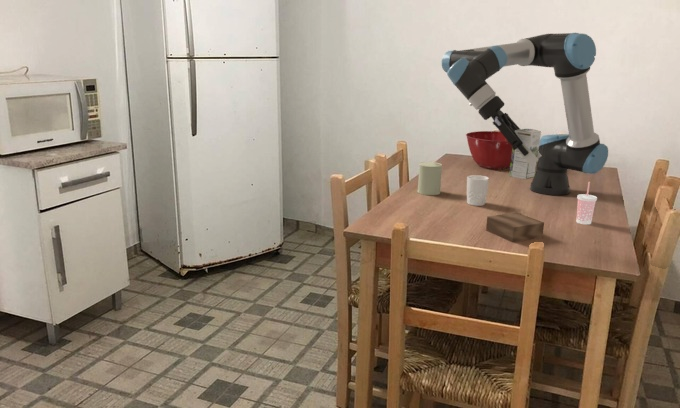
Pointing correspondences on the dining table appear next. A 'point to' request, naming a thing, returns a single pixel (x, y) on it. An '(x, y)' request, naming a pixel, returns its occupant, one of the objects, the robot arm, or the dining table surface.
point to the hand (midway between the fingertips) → (536, 160)
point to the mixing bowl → (490, 149)
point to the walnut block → (514, 227)
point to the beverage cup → (585, 207)
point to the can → (429, 178)
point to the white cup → (477, 189)
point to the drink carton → (518, 162)
